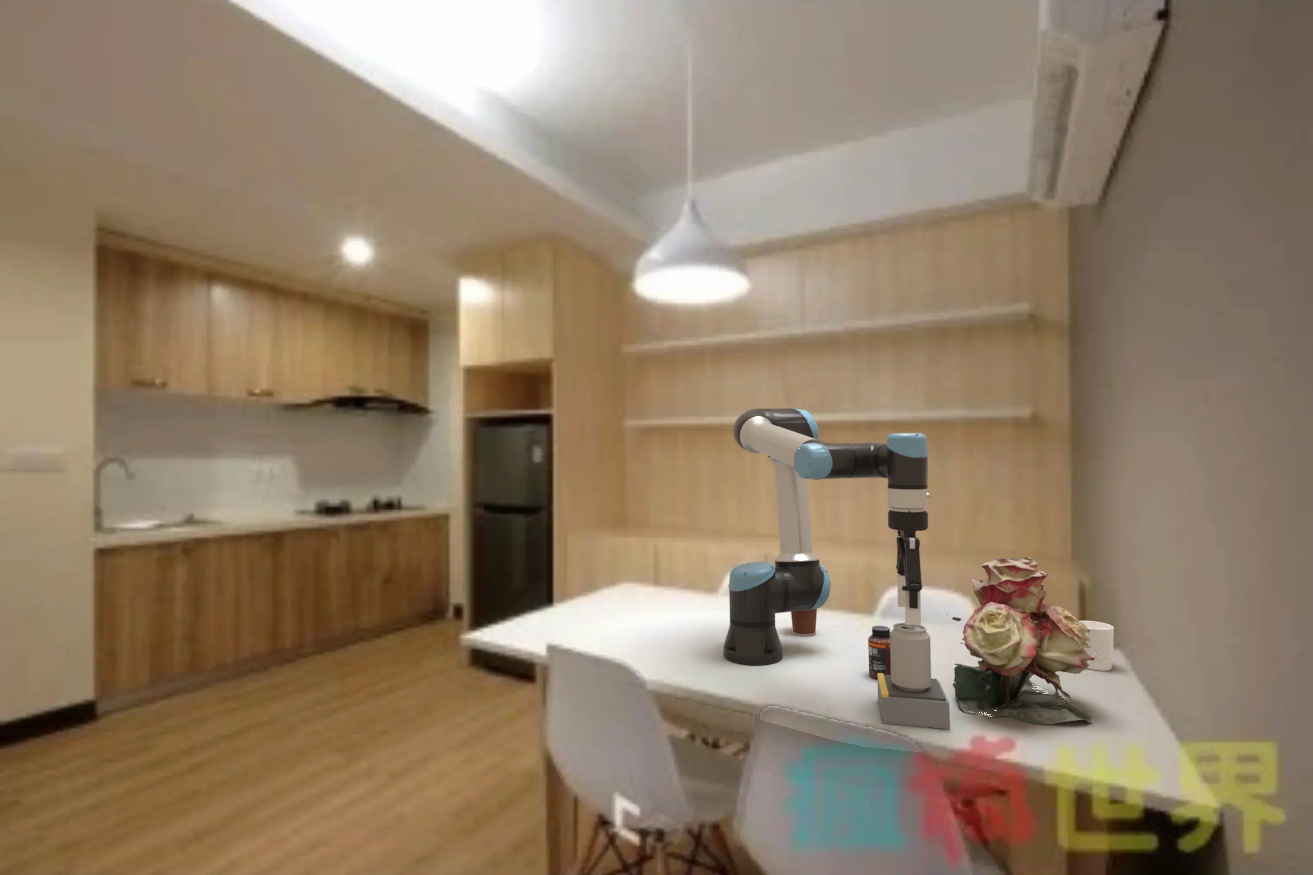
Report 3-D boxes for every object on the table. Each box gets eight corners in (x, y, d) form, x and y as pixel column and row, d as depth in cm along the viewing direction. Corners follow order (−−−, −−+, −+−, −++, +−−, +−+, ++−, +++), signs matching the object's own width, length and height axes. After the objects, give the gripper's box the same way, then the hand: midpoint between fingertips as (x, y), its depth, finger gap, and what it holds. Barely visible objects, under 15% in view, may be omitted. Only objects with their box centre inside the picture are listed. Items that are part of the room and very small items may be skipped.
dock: (882, 722, 123) (881, 693, 123) (877, 699, 135) (877, 672, 135) (949, 729, 120) (949, 699, 120) (939, 704, 131) (938, 677, 132)
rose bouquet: (962, 722, 123) (958, 566, 124) (947, 672, 151) (944, 545, 151) (1119, 740, 115) (1114, 573, 115) (1072, 684, 142) (1069, 550, 143)
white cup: (1117, 665, 154) (1116, 624, 154) (1112, 674, 148) (1110, 631, 148) (1078, 658, 159) (1077, 618, 160) (1072, 666, 154) (1071, 625, 154)
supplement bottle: (895, 673, 150) (894, 625, 151) (896, 682, 145) (895, 632, 145) (868, 670, 152) (868, 623, 153) (868, 679, 147) (867, 629, 147)
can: (924, 679, 131) (923, 621, 131) (936, 693, 123) (935, 631, 123) (886, 679, 131) (885, 620, 132) (896, 692, 124) (895, 630, 124)
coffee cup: (787, 628, 190) (786, 588, 190) (818, 629, 188) (817, 588, 189) (789, 637, 181) (788, 594, 181) (822, 638, 179) (821, 595, 180)
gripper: (938, 517, 115) (939, 634, 115) (919, 504, 139) (920, 601, 139) (893, 516, 117) (894, 631, 117) (882, 503, 141) (883, 599, 141)
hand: (908, 615), depth 128 cm, fingers open, 13 cm apart
